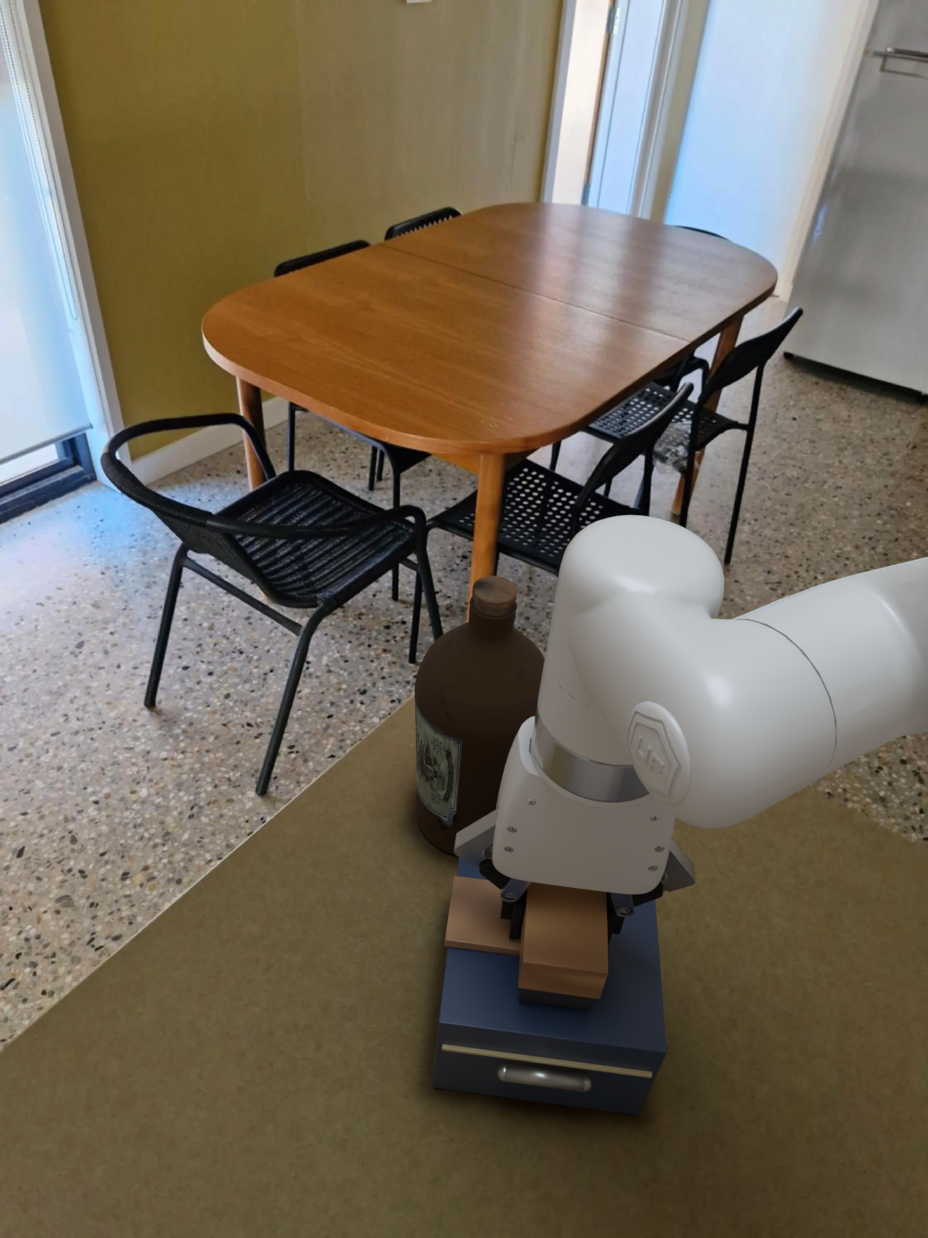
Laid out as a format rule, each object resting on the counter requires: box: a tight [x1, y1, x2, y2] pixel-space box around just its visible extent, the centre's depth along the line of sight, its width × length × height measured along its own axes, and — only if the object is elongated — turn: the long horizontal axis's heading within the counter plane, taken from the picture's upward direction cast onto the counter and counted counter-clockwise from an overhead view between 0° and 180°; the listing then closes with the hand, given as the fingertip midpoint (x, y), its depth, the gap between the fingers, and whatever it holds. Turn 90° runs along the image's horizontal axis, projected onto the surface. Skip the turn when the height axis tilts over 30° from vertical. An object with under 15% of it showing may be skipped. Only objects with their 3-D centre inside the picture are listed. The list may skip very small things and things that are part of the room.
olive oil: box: [414, 575, 545, 857], centre depth 70 cm, size 11×11×25 cm
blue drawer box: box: [431, 857, 668, 1116], centre depth 62 cm, size 15×14×9 cm
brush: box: [518, 882, 608, 1010], centre depth 58 cm, size 11×5×5 cm, turn 174°
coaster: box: [444, 875, 521, 956], centre depth 60 cm, size 5×5×1 cm
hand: (558, 924), depth 59 cm, fingers closed on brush, 5 cm apart
